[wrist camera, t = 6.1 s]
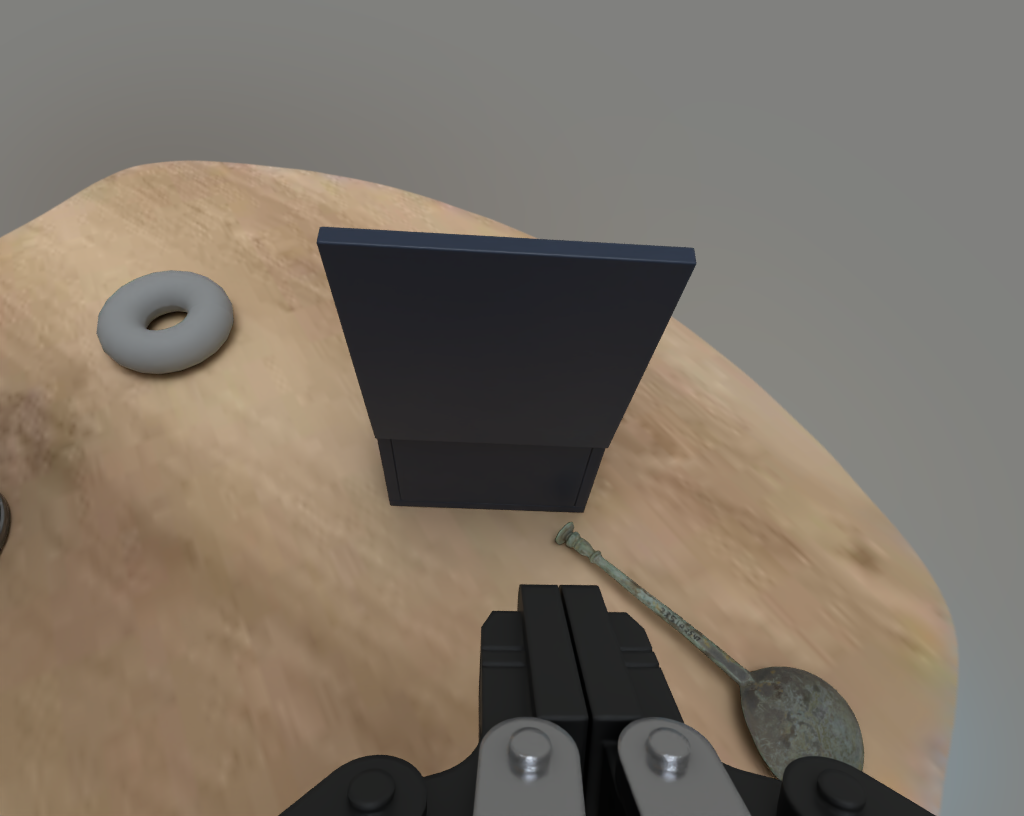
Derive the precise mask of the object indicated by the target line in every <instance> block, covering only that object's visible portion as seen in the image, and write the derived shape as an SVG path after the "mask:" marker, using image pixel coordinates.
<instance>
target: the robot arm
mask: <svg viewBox="0 0 1024 816" xmlns="http://www.w3.org/2000/svg"><path fill="white" fill-rule="evenodd" d="M9 524H10V513H9V508H8V504H7V502H6V500H5V498H4V497H3V495H2V494H1V493H0V549H1V548H2V546H3V544H4V542H5V539H6V536H7V533H8V529H9ZM278 816H935V815H934V814H932V813H930V812H929V811H927V810H925V809H924V808H922V807H920V806H919V805H917V804H915V803H914V802H912V801H910V800H909V799H907V798H905V797H904V796H902V795H900V794H899V793H897V792H895V791H894V790H892V789H890V788H889V787H887V786H885V785H884V784H882V783H880V782H879V781H877V780H875V779H874V778H872V777H870V776H869V775H867V774H865V773H864V772H862V771H860V770H859V769H857V768H855V767H853V766H851V765H849V764H846V763H844V762H842V761H838V760H835V759H832V758H827V757H821V756H805V757H801V758H798V759H795V760H793V761H792V762H791V763H789V764H788V766H787V767H786V768H785V771H784V774H783V778H782V781H781V780H777V779H773V778H769V777H766V776H762V775H758V774H754V773H750V772H746V771H743V770H740V769H736V768H734V767H731V766H729V765H727V764H724V763H723V762H721V760H720V759H719V757H718V755H717V753H716V751H715V750H714V748H713V747H712V745H711V744H710V742H709V741H708V740H707V739H706V738H705V737H704V736H703V735H701V734H700V733H699V732H698V731H696V730H695V729H693V728H692V727H690V726H688V725H686V724H684V722H683V719H682V717H681V714H680V712H679V710H678V707H677V705H676V703H675V700H674V698H673V696H672V693H671V691H670V689H669V686H668V684H667V682H666V679H665V677H664V674H663V672H662V670H661V668H659V663H658V660H657V658H656V656H655V653H654V652H652V646H651V644H650V642H649V639H648V637H647V634H646V632H645V630H644V628H643V627H642V626H640V625H639V624H638V623H637V622H636V621H635V620H634V619H633V618H632V617H631V616H630V615H629V614H627V613H626V612H607V609H606V606H605V603H604V600H603V597H602V594H601V592H600V589H599V587H598V586H597V585H560V586H559V588H558V585H525V584H520V585H519V592H518V609H517V611H492V612H491V614H490V615H489V617H488V618H487V620H486V621H485V623H484V624H483V626H482V627H481V650H480V676H479V743H478V745H477V747H476V749H475V750H474V751H473V752H472V754H471V755H470V756H469V757H468V758H466V759H465V760H464V761H463V762H461V763H460V764H458V765H457V766H455V767H453V768H451V769H449V770H446V771H443V772H440V773H437V774H433V775H430V776H426V777H422V775H421V773H420V772H419V771H418V770H417V769H416V768H415V767H414V766H413V765H412V764H410V763H409V762H407V761H405V760H403V759H400V758H397V757H394V756H388V755H372V756H365V757H361V758H358V759H355V760H352V761H350V762H348V763H346V764H344V765H342V766H341V767H339V768H338V769H336V770H335V771H334V772H332V773H331V774H330V775H329V776H327V777H326V778H325V779H324V780H322V781H321V782H320V783H319V784H317V785H316V786H315V787H314V788H312V789H311V790H310V791H309V792H307V793H306V794H305V795H304V796H302V797H301V798H300V799H299V800H297V801H296V802H295V803H294V804H292V805H291V806H290V807H289V808H287V809H286V810H285V811H284V812H282V813H281V814H280V815H278Z"/></svg>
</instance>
